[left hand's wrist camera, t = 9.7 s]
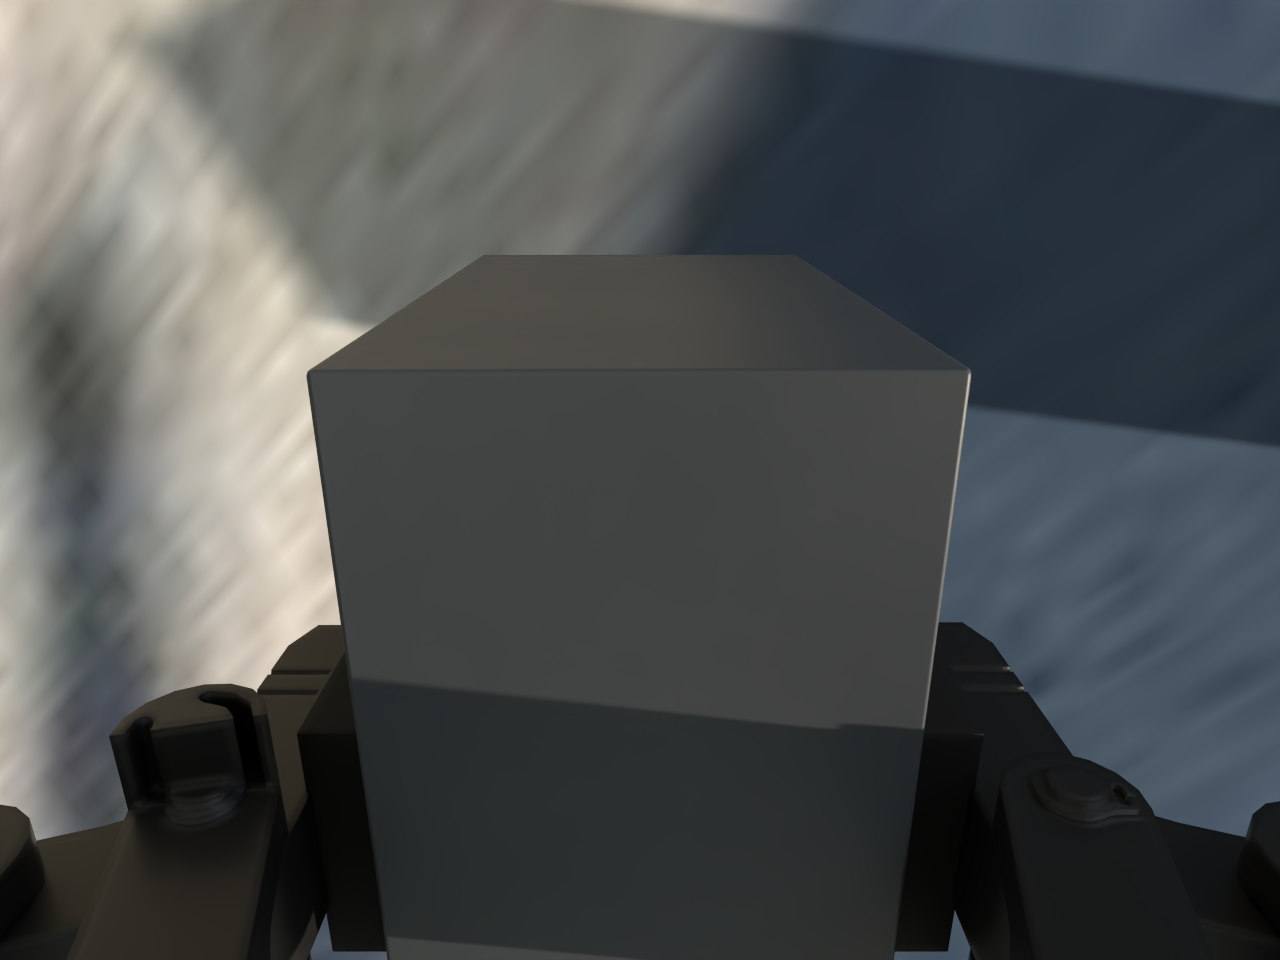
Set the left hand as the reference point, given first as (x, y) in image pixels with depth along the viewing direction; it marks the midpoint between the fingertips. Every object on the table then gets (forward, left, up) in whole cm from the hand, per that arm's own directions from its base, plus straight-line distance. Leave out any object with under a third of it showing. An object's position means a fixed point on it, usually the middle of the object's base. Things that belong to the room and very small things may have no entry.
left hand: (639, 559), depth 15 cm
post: (+15, +17, -1) cm, 23 cm away
